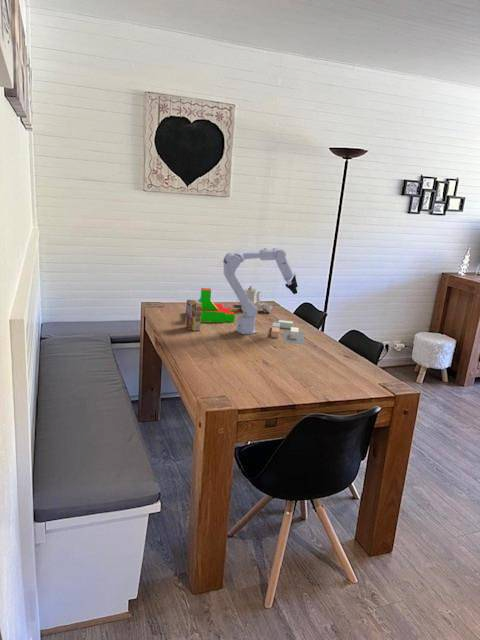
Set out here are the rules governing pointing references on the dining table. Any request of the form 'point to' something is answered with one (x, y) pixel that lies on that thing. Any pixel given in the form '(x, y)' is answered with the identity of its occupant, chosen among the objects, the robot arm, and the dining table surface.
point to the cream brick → (294, 333)
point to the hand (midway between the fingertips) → (295, 290)
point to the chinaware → (251, 295)
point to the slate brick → (276, 325)
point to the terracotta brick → (275, 332)
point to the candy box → (193, 314)
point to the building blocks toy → (214, 309)
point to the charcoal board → (287, 339)
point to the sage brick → (285, 324)
